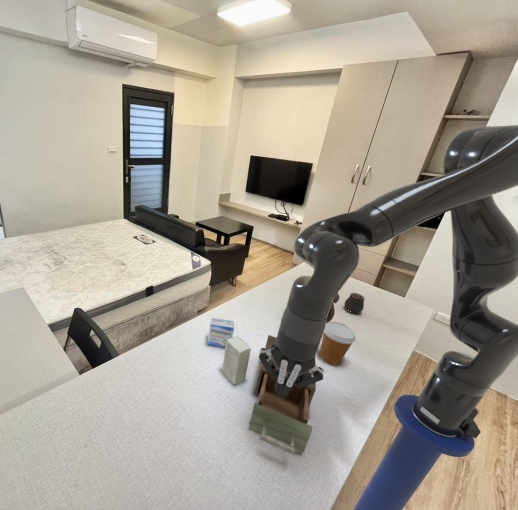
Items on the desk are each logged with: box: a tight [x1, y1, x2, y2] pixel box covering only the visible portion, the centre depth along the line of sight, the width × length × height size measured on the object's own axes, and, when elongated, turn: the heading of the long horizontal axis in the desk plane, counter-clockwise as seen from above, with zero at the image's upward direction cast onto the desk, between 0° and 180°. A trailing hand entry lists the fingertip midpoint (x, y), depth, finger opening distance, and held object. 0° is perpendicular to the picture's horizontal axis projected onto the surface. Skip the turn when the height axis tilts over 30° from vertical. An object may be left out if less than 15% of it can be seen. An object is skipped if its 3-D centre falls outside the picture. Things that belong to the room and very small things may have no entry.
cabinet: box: [253, 334, 317, 410], centre depth 80 cm, size 16×14×10 cm
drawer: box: [247, 373, 313, 455], centre depth 67 cm, size 19×13×8 cm, turn 155°
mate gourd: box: [344, 292, 366, 315], centre depth 121 cm, size 7×8×10 cm
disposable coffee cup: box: [319, 321, 357, 366], centre depth 92 cm, size 10×10×12 cm
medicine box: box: [207, 317, 235, 349], centre depth 95 cm, size 8×4×9 cm, turn 81°
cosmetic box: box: [221, 335, 252, 385], centre depth 81 cm, size 6×4×12 cm
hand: (280, 394), depth 60 cm, fingers closed
